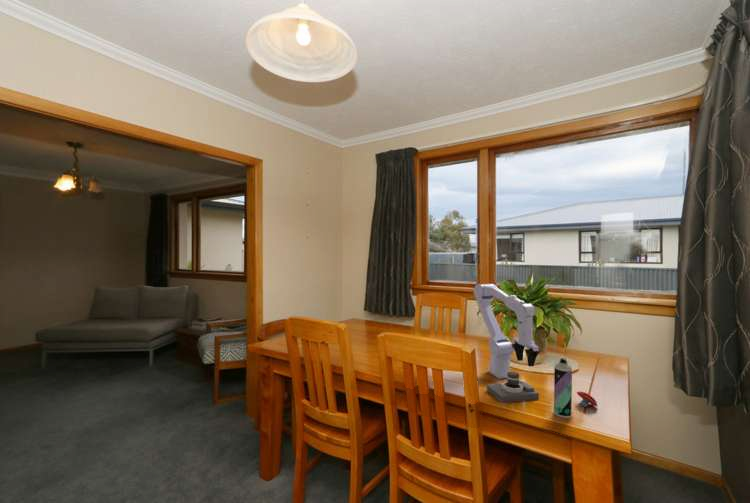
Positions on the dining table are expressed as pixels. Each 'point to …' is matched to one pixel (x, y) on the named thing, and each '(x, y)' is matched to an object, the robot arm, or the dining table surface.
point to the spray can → (563, 389)
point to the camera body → (513, 392)
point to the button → (586, 399)
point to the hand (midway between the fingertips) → (525, 363)
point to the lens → (513, 380)
